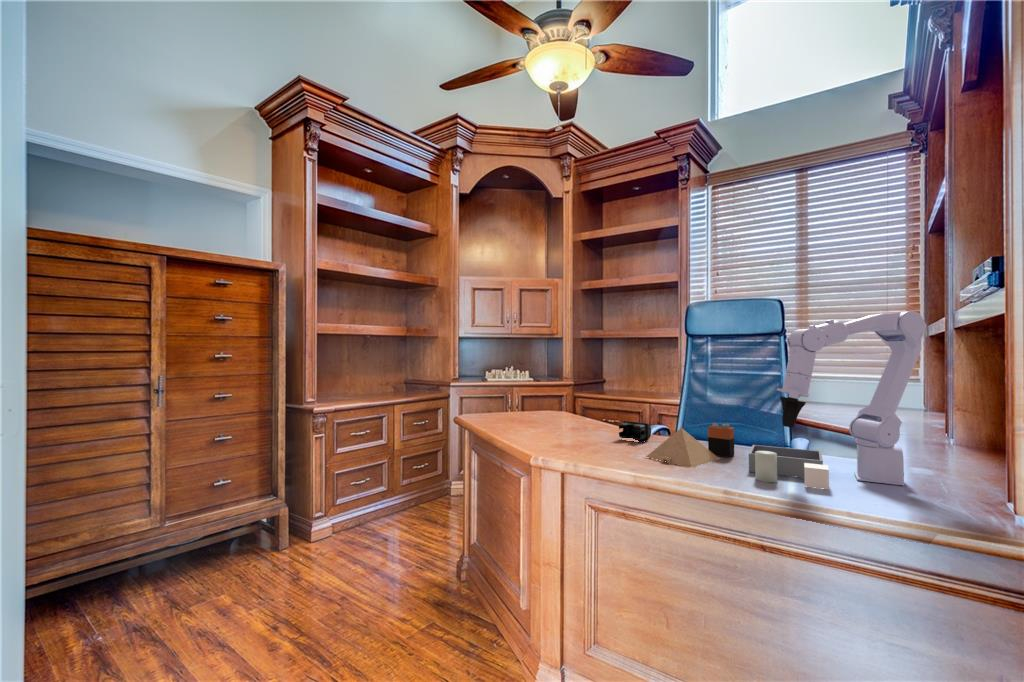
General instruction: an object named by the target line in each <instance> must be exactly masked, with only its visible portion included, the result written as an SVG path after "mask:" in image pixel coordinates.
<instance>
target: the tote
mask: <svg viewBox="0 0 1024 682" xmlns="http://www.w3.org/2000/svg"><path fill="white" fill-rule="evenodd" d="M756 451H770V452H774V453H777V476H781V475H788V476H787V477H790V476H797V477H796V478H798V477H804V463H810V464H820V465H824V459H823V454H822V451H821V450H814V449H813V450H812V449H802V448H791V447H779V446H771V445H757V444H752V445H751V448H750V450H749V451H748V472H749V473H755V452H756Z"/></svg>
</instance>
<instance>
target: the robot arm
mask: <svg viewBox="0 0 1024 682" xmlns="http://www.w3.org/2000/svg"><path fill="white" fill-rule="evenodd" d="M824 322H825V323H822V324H817V325H815V324H810V325H809V326H808V328H805V329H803V328H802V329H801V328H800V329H796V330H795V329H794V331H792V333H791V334H790V335H789V337H786V343H787V346H788V348H789V351H788V354H789V355H788V360H787V365H786V369H785V375H784V378H783V379H784V380H783V385H782V388H780V387H779V388H778V387H777V389H776V391H778V392H781V393H783V394H787V395H788V397H786V396H783V395H782V396H781V395H780V396H779V399H780V402H781V409H782V426H783V427H787V428H790V429H791V428H792V429H793V427H794V426H795V423H796V421H797V419H798V417H799V414H800V412H801V410H802V409H803V407H804V406H805V405H806V404H807V402H806V401H802V400H801V401H800V400H799V398H801V397H802V398H809V395H810V394H809V389H810V387H811V386H810V385H811V380H812V375H813V370H814V367H815V366H814V365H815V362H816V361H815V360H816V355H817V352H819V351H820V350H822V349H823V348H825V347H828V346H832V345H836V344H840V343H843V342H845V341H846V340H847V338H848V337H849V336H851V335H855V334H859V333H863V332H868V331H870V332H874V333H875V335H876V336H877V337H878V338H880V340H881V341H882V342H883V343H884V344H885V345H886V346H887V347H888V348H889V349H890V350H891V353H890V355H889V357H888V360H887V362H886V365H885V368H884V370H883V372H882V374H881V377H880V379H879V382H878V384H877V387H876V388H875V391H874V393H873V396H872V398H871V400H870V403H869V404H868V405H867V406H865V407H863V408H861V409H860V410H859V411H858V413H857V415H856V416H855V417H854V418H852V420H851V421H850V423H849V425H848V426H849V428H848V429H849V433H850V435H851V436H852V437H853V438H854V442H855V443H856V462H857V463H856V465H857V467H856V469H857V471H854V472H853V473H854V475H855V478H856V480H857V481H861V482H871V483H879V484H886V485H887V484H888V485H897V486H905V469H904V467H905V466H904V452H903V451H904V450H903V447H900V446H895V445H896V444H897V443H898V442H899V440H900V437H901V432H900V428H901V426H902V422H903V421H901V419H900V418H899V417H898V415H897V414H896V413H897V410H898V407H899V405H900V403H901V400H902V398H903V396H904V393H905V390H906V388H907V386H908V383H909V380H910V378H911V376H912V374H913V371H914V369H915V368H916V367H915V366H916V364H917V362H918V359H919V358H920V355H921V351H922V340H923V336H924V334H925V331H926V329H927V327H928V325H927V324H926V321H925V320H924V318H923V316H922V314H920V313H919V312H918V311H914V310H908V311H903V312H891V313H889V312H888V313H886V312H885V313H884V312H883V313H879V314H877V313H876V314H869V315H866V316H864V317H863V316H862V317H860V318H857V319H853V320H850V321H847V322H842V321H839V320H834V319H827V320H825V321H824Z"/></svg>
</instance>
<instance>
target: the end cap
mask: <svg viewBox="0 0 1024 682" xmlns="http://www.w3.org/2000/svg"><path fill="white" fill-rule="evenodd" d="M618 429H619V430H621V431H619V432H618V436H619V438H633V439H635V440H638V441H639V442H644V441H647V442H648V441H649V440H650V438H651V436H652V426H651V425H650V423H647V422H638V421H631V420H629V421H628V420H623V421H622V423H620V424H618ZM644 443H645V442H644Z"/></svg>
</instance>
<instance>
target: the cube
mask: <svg viewBox="0 0 1024 682" xmlns="http://www.w3.org/2000/svg"><path fill="white" fill-rule="evenodd" d="M829 473H830V469H829V465H827V464H823V465H820V464H810V463H804V478H803V479H804V487H805V486H807V487H816V488H824V489H829V490H830V474H829ZM807 487H806V488H807Z"/></svg>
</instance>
